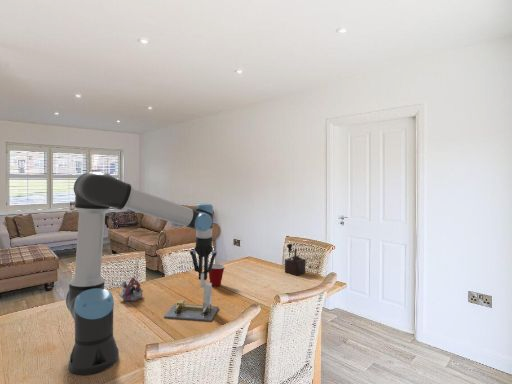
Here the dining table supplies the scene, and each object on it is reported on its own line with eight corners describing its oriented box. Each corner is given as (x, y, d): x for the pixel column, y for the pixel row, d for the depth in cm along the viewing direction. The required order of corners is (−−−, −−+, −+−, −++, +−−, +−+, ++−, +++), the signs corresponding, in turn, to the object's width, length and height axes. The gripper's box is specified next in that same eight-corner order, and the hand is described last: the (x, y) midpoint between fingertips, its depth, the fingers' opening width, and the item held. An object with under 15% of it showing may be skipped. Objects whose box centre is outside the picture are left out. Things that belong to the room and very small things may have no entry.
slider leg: (206, 315, 142) (207, 289, 141) (200, 315, 142) (200, 288, 141) (211, 307, 150) (212, 282, 150) (205, 307, 151) (206, 282, 150)
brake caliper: (136, 299, 154) (123, 278, 156) (121, 310, 157) (109, 289, 159) (150, 291, 165) (139, 272, 166) (136, 301, 168) (125, 282, 169)
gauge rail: (208, 316, 141) (209, 309, 141) (170, 313, 143) (170, 306, 143) (213, 308, 150) (213, 302, 150) (177, 305, 152) (177, 299, 152)
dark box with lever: (306, 272, 212) (307, 246, 211) (296, 276, 204) (297, 249, 204) (288, 267, 223) (289, 242, 222) (278, 270, 215) (279, 245, 214)
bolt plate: (211, 321, 138) (211, 319, 138) (163, 317, 141) (163, 315, 141) (218, 308, 152) (218, 306, 152) (175, 305, 155) (175, 303, 155)
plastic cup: (228, 284, 185) (229, 264, 184) (215, 289, 176) (216, 268, 176) (215, 280, 192) (216, 261, 191) (202, 285, 183) (202, 265, 182)
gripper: (219, 236, 150) (218, 284, 151) (193, 234, 151) (191, 282, 152) (215, 239, 142) (214, 290, 143) (188, 237, 144) (186, 288, 145)
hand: (202, 286), depth 148 cm, fingers closed
